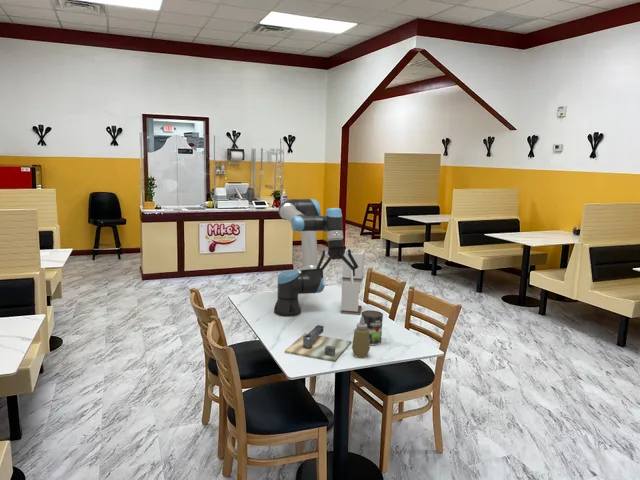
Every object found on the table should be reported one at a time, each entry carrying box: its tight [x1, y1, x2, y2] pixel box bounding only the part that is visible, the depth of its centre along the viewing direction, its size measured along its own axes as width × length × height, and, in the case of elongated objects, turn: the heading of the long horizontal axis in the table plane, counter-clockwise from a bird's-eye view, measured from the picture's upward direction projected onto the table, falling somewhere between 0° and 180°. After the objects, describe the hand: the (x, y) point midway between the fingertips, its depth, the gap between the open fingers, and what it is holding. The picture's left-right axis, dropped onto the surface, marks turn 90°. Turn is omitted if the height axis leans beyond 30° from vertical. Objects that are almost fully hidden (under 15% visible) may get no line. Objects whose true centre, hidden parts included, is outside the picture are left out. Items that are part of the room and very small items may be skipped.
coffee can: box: [360, 310, 384, 346], centre depth 238 cm, size 10×10×14 cm
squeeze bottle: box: [351, 315, 371, 358], centre depth 221 cm, size 8×8×18 cm
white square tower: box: [340, 248, 365, 316], centre depth 281 cm, size 11×11×35 cm
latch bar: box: [303, 324, 325, 348], centre depth 233 cm, size 18×4×5 cm, turn 159°
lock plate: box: [284, 332, 352, 363], centre depth 229 cm, size 24×24×7 cm
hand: (338, 284), depth 237 cm, fingers open, 13 cm apart
